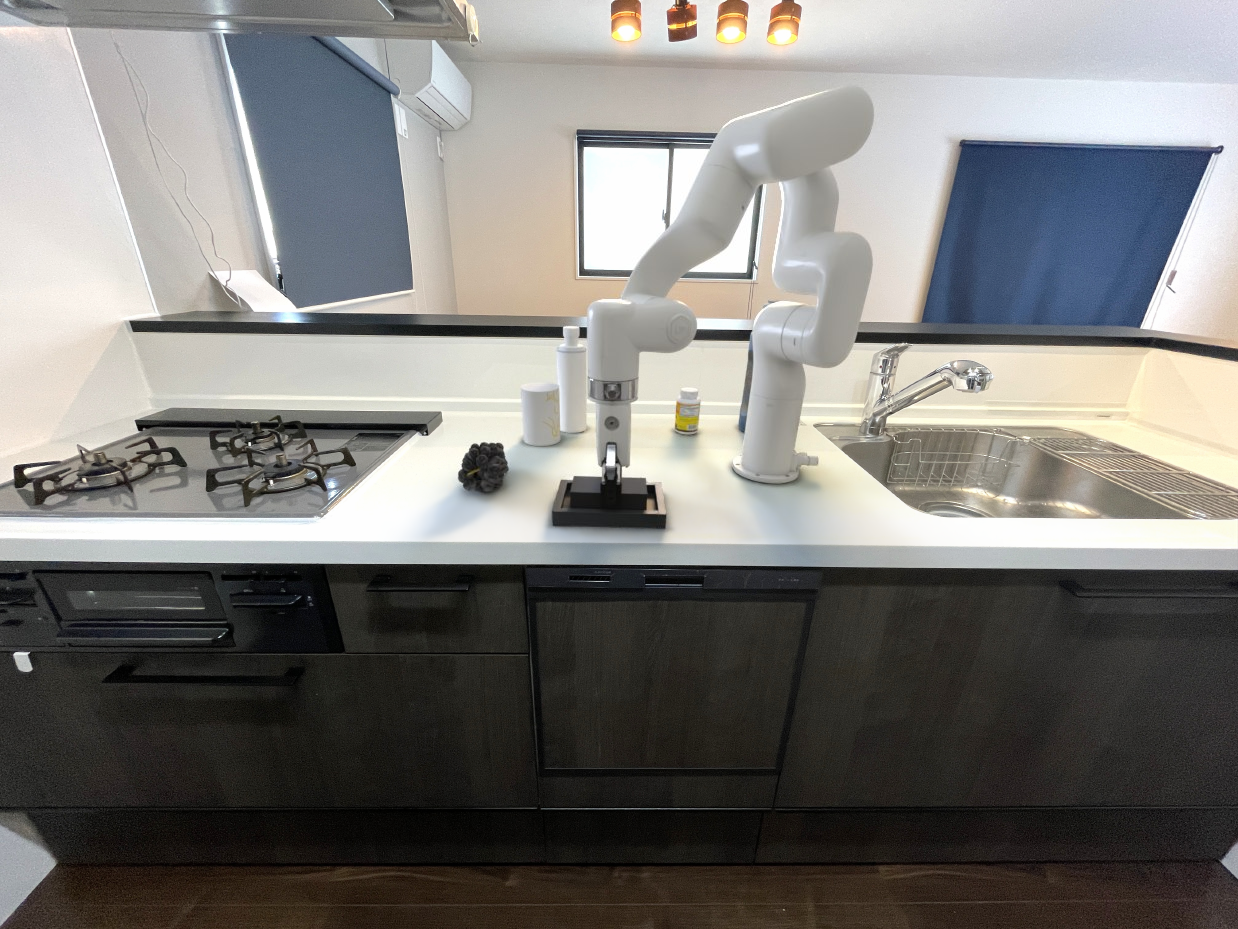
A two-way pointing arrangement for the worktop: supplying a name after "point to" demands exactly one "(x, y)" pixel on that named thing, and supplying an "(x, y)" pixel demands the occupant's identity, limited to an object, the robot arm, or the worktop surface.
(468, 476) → the fruit
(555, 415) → the cup
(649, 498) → the shallow rectangular tray
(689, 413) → the supplement bottle
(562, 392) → the tall white capped bottle
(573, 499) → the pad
